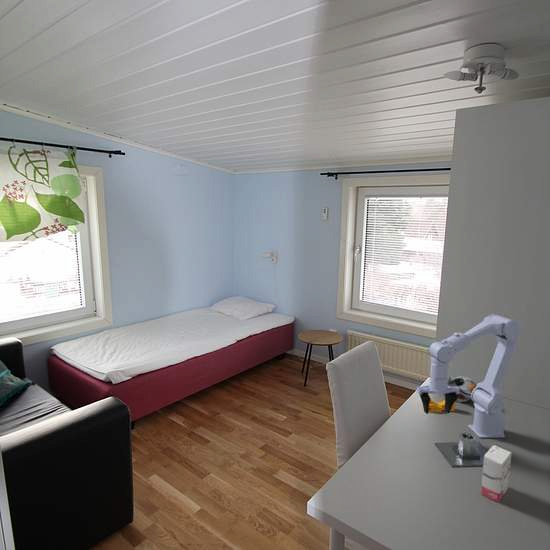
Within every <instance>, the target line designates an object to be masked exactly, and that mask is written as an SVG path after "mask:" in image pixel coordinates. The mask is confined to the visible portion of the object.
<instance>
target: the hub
mask: <svg viewBox="0 0 550 550" xmlns="http://www.w3.org/2000/svg"><path fill="white" fill-rule="evenodd" d="M466 438H469V439H466ZM476 440H477V437H476V436H475V435H474V434H472V433H469V432H466V431H463V432H459V436H458V442H459V446H458V450H460V451H461V452H462V453H464V454H468V455H472V454H474V453H475V442H477V441H476Z"/></svg>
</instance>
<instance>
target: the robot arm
mask: <svg viewBox="0 0 550 550" xmlns="http://www.w3.org/2000/svg"><path fill="white" fill-rule="evenodd" d="M521 330H522V327H521V326H520V323H519V322H518V321H517V320H515V319H511V318H509V317H508V318H507V317H504V316H501V315H498V314H496V313H491V314H489V315H488V316H485V317H484V318H483V321H481V322H480V323H478V324H477V325H475V326H473V327H472V328H471V329H469V330H467V331H465V332H464V333H462V332H454V333H452V335H451V336H449V337H447V338H444V339H442V340H441V341H435V342H432V343H431V344H430V346H429V348H428V349H427V352H428V355H429V356H430V373H429V384H427V385H424V386H417V387H416V393H417V394H418V396H419V397H420V399H421V402H422V408H423V407H424V408H423V411H424V413H425V414H427V415H429V413H430V412H429V403H430V400H432V397H431V396H430V397H429V395H431V394H438V395H444V401H445V411H444V412H445V413H447V414H450V413H451V411H450V410H451V407H452V405H453V404H454V402H455V403H456V400H457V398H458V396H457V395H456V394H459V390H460V389H459V388H458V387H455V386H447V382H448V378H449V367H450V366H449V365H450V364H449V363H450V362H451V360H452V359H454V357H455V356H456V355H457V353H459V352H462V351H463V350H466V349H467V348H469V347H470V343H471V342H473V341H476V340H477V339H480V338H483V337H484V336H486V335H489V334H491V335H494V337H495V339H496V340H497V342H498V343H497V346H496V349H495V351H494V353H493V357H492V359H491V361H490V364H489V366H488V369H487V372H486V375H485V377H484V380H483V381H481V382H478V383H476V385H477V386H476V388H475V389H474V390H473V391H472V393H471V399H470V400H471V402H473V406H474V416H473V423H472V424H468V425H467V426H468V428H469V429H470V430H471V431H473V433H474V434H475V435H476V436H477V437H478V438H480V439H482V438H484V439H486V438H488V439H489V438H505V437H506V436H505V434H504V432H505V431H504V430H505V421H506V420H505V419H506V418H505V415H504V413H503V411H502V410H503V408H504V400H505V395H504V392H503V390H502V388H501V387H502V385H503V383H504V379H505V377H506V374H507V371H508V369H509V366H510V364H511V362H512V358H513V355H514V354H515V350H516V347H517V345H518V341H519V340H518V339H519V337H520V334H521V332H522V331H521ZM428 394H429V395H428Z"/></svg>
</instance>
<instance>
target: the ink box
mask: <svg viewBox="0 0 550 550" xmlns="http://www.w3.org/2000/svg"><path fill="white" fill-rule="evenodd" d="M511 461H512V451H510V450H506V449H504V448H502V447H499V446H497V445H495V444H493V445H492V446H491V447H490V448H489V449H488V452H487V453H486V454H485V456H484V464H483V466H482V467H483V468H482V478H481V492H480V494H481V495H482V496H485V498H488V499H490V500H493V501H494V502H498V503H500V501H501V500H502V499H503V496H504V495H505V493H506V492H507V491H508V489H509V480H510V472H511V471H510V470H511Z"/></svg>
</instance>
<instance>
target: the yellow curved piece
mask: <svg viewBox="0 0 550 550" xmlns="http://www.w3.org/2000/svg"><path fill="white" fill-rule="evenodd" d="M428 395H429V397H430V398H431V396H430V395H431V394H428ZM422 408H423V409H424V407H423V406H422ZM455 409H456V401H455V402H454V404H453V405H452V407H451V410H450V412H455ZM443 411H444V412H446V411H445V400H443V401H440V402H438V401H437V402H436V401H433V400H432V399H431V400H430V403H429V413H443Z"/></svg>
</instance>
